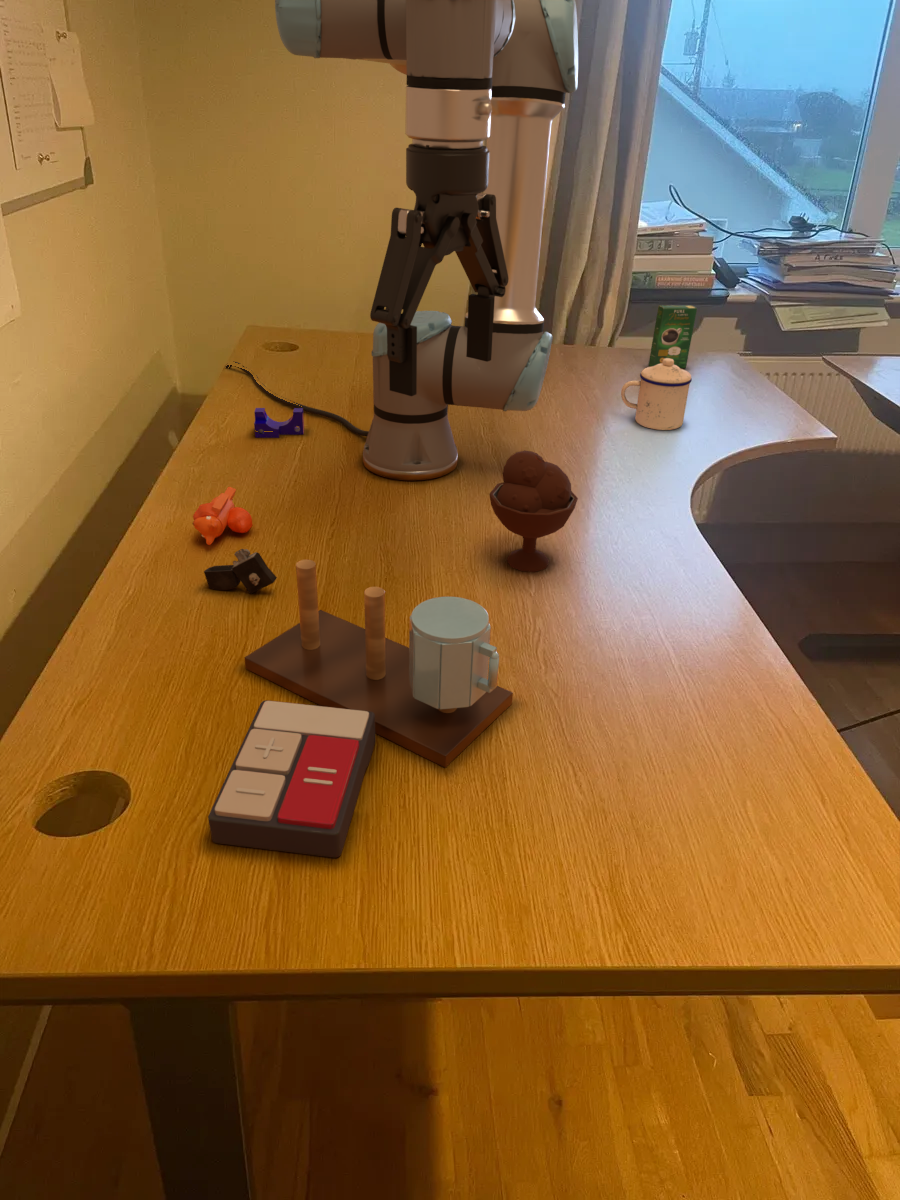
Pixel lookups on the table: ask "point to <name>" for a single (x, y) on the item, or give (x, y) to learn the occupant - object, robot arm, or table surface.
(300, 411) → the cable holder
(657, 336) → the coffee box
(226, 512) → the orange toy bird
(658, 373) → the teacup with lid
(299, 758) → the calculator
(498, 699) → the peg rack
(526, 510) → the ice cream bowl
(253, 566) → the lighter
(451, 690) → the blue cup
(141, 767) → the table surface
